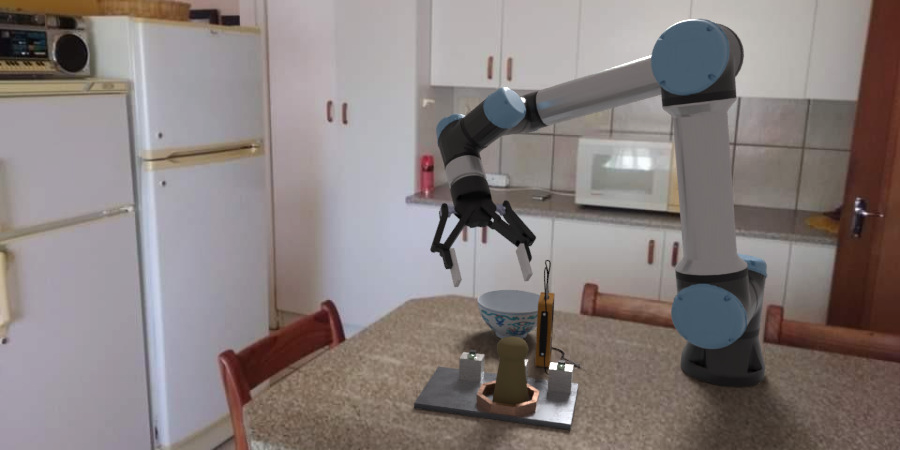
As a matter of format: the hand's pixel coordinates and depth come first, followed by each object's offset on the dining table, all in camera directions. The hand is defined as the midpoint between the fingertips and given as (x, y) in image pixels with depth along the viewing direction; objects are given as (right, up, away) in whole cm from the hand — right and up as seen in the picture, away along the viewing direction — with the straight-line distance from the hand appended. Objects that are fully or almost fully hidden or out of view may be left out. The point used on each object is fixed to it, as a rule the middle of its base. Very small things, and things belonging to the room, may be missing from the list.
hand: (493, 280), depth 130 cm
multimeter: (+14, -17, +11) cm, 25 cm away
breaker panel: (+1, -20, -5) cm, 21 cm away
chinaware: (+5, -14, +25) cm, 29 cm away
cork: (+2, -20, -7) cm, 21 cm away
